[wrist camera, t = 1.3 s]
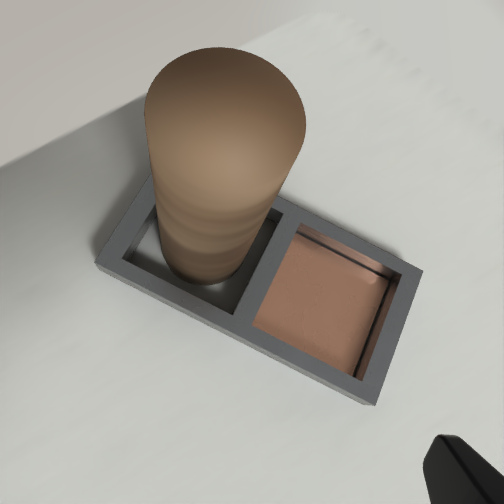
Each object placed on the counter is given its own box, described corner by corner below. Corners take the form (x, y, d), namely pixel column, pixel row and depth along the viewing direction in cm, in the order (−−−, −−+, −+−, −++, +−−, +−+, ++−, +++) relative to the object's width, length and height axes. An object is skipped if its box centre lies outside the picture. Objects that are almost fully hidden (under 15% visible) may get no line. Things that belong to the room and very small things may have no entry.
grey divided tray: (363, 404, 23) (375, 405, 21) (99, 270, 22) (94, 262, 21) (409, 277, 25) (423, 271, 24) (171, 155, 25) (171, 141, 23)
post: (223, 300, 23) (265, 218, 12) (145, 260, 23) (111, 139, 12) (259, 228, 24) (329, 93, 13) (187, 191, 24) (193, 22, 13)
